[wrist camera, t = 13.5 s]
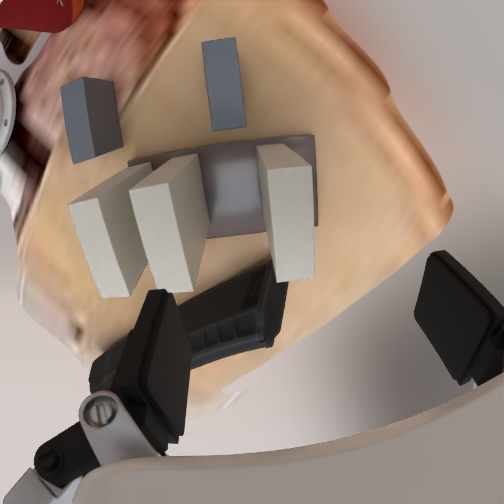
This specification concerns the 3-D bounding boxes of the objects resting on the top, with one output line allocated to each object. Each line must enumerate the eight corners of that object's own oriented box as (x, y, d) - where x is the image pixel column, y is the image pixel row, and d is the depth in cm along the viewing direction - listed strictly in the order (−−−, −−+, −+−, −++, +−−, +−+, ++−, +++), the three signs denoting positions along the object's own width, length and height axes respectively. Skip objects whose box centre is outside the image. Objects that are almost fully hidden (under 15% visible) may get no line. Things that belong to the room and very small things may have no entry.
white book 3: (255, 145, 24) (266, 169, 14) (282, 142, 24) (312, 165, 14) (263, 218, 27) (276, 283, 18) (288, 215, 27) (314, 278, 17)
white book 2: (172, 157, 24) (128, 190, 14) (198, 153, 24) (168, 182, 14) (186, 227, 27) (158, 294, 18) (210, 224, 27) (194, 291, 18)
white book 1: (128, 166, 24) (67, 204, 14) (151, 161, 24) (97, 197, 14) (144, 233, 27) (101, 298, 18) (166, 230, 27) (130, 296, 18)
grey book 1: (92, 88, 21) (60, 87, 16) (113, 80, 21) (83, 76, 16) (103, 152, 24) (72, 164, 19) (123, 146, 24) (95, 157, 19)
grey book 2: (210, 56, 21) (201, 41, 16) (236, 53, 21) (235, 37, 15) (219, 127, 24) (212, 131, 19) (245, 123, 24) (246, 126, 19)
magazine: (311, 290, 22) (74, 445, 20) (327, 315, 23) (97, 458, 22) (250, 234, 37) (93, 356, 36) (263, 252, 39) (108, 368, 37)
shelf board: (131, 159, 25) (127, 161, 24) (311, 134, 25) (314, 135, 24) (151, 241, 29) (148, 246, 28) (315, 221, 29) (318, 226, 28)
